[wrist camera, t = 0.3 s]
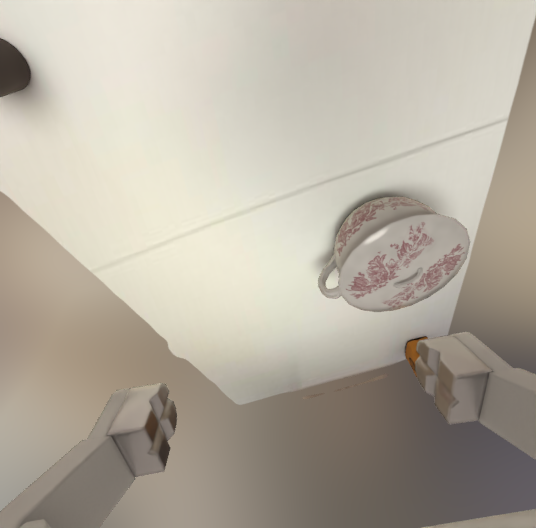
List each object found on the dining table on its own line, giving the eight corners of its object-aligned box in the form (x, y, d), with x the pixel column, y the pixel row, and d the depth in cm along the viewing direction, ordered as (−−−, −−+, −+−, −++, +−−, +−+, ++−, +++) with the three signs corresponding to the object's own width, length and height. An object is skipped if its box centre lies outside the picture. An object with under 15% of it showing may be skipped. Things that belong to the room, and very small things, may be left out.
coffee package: (400, 354, 119) (428, 408, 102) (405, 339, 110) (436, 395, 94) (423, 350, 119) (454, 403, 102) (430, 334, 110) (465, 389, 94)
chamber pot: (449, 184, 65) (518, 236, 50) (392, 270, 83) (430, 327, 67) (340, 165, 59) (381, 218, 44) (303, 262, 76) (323, 324, 61)
